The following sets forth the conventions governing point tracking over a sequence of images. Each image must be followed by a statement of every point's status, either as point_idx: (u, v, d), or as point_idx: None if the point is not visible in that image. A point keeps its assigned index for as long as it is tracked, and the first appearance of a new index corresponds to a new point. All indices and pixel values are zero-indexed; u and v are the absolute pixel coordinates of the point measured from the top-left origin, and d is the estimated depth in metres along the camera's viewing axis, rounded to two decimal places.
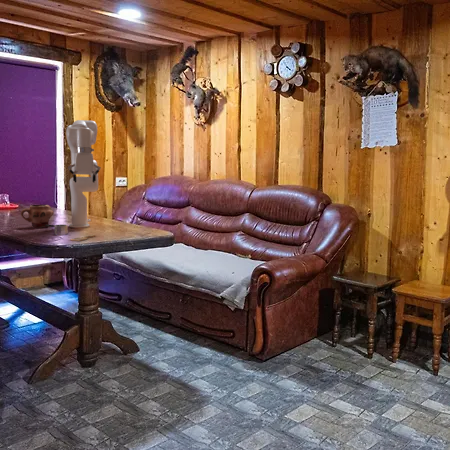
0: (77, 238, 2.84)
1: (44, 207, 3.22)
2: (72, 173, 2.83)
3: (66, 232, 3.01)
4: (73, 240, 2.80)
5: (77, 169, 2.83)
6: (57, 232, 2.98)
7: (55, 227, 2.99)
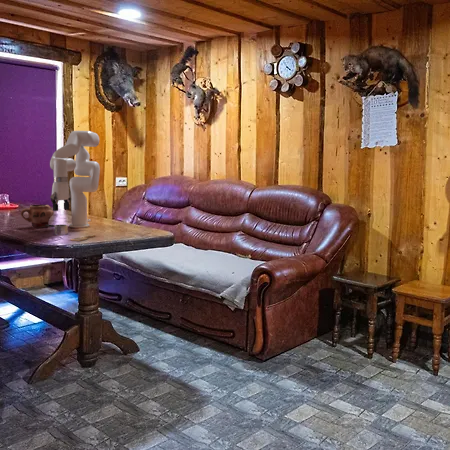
0: (77, 238, 2.84)
1: (44, 207, 3.22)
2: (55, 202, 2.93)
3: (66, 232, 3.01)
4: (73, 240, 2.80)
5: (59, 198, 2.94)
6: (57, 232, 2.98)
7: (55, 227, 2.99)
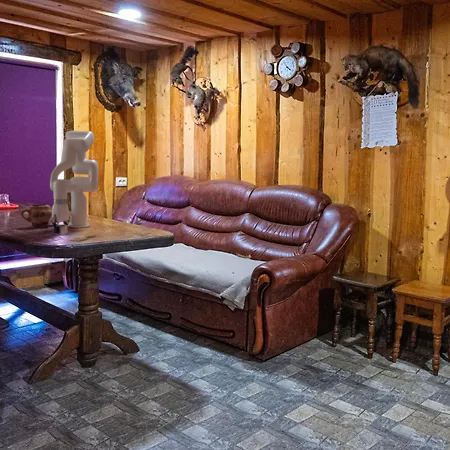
0: (77, 238, 2.84)
1: (44, 207, 3.22)
2: (55, 225, 2.96)
3: (66, 232, 3.01)
4: (73, 240, 2.80)
5: (59, 220, 2.96)
6: None
7: None
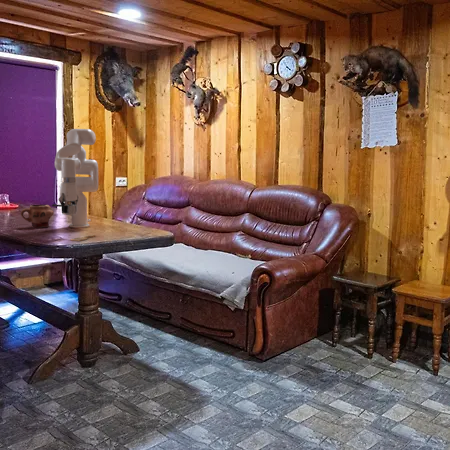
0: (77, 238, 2.84)
1: (44, 207, 3.22)
2: (63, 204, 2.85)
3: (74, 212, 2.91)
4: (73, 240, 2.80)
5: (67, 199, 2.86)
6: None
7: None
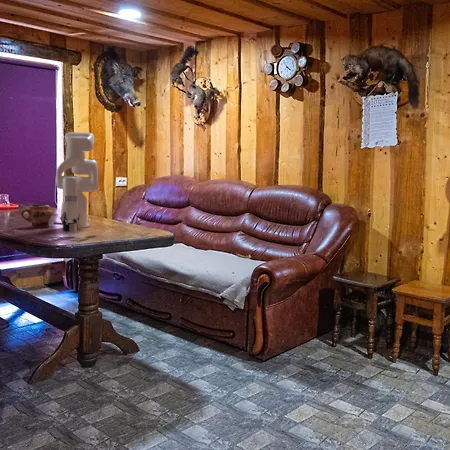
0: (77, 238, 2.84)
1: (44, 207, 3.22)
2: (65, 223, 2.86)
3: (76, 230, 2.91)
4: (73, 240, 2.80)
5: (69, 218, 2.87)
6: None
7: None
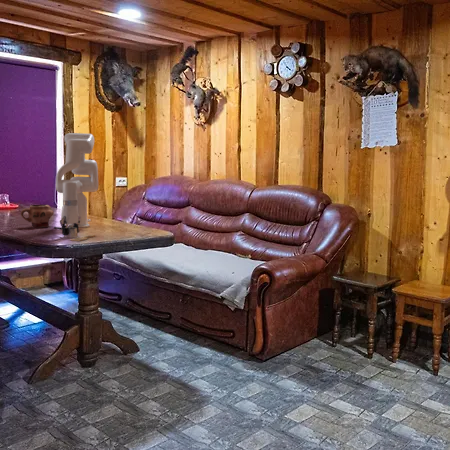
0: (77, 238, 2.84)
1: (44, 207, 3.22)
2: (64, 226, 2.86)
3: (76, 235, 2.91)
4: (73, 240, 2.80)
5: (69, 222, 2.87)
6: (67, 235, 2.89)
7: None
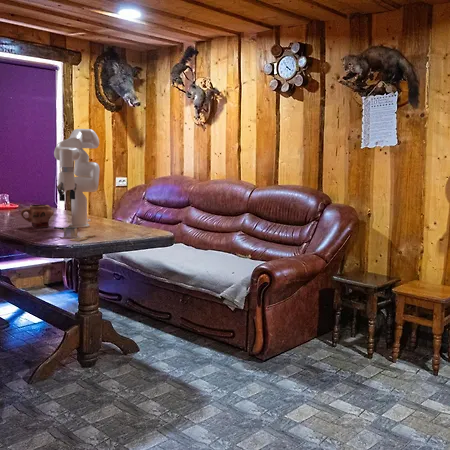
0: (77, 238, 2.84)
1: (44, 207, 3.22)
2: (61, 192, 2.94)
3: (76, 235, 2.91)
4: (73, 240, 2.80)
5: (66, 188, 2.95)
6: (67, 235, 2.89)
7: (64, 230, 2.89)
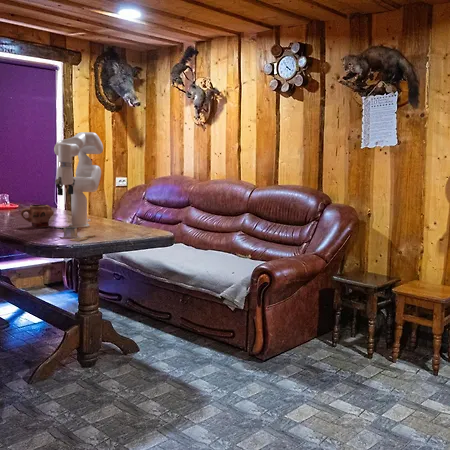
0: (77, 238, 2.84)
1: (44, 207, 3.22)
2: (59, 187, 2.98)
3: (76, 235, 2.91)
4: (73, 240, 2.80)
5: (64, 182, 3.00)
6: (67, 235, 2.89)
7: (64, 230, 2.89)
